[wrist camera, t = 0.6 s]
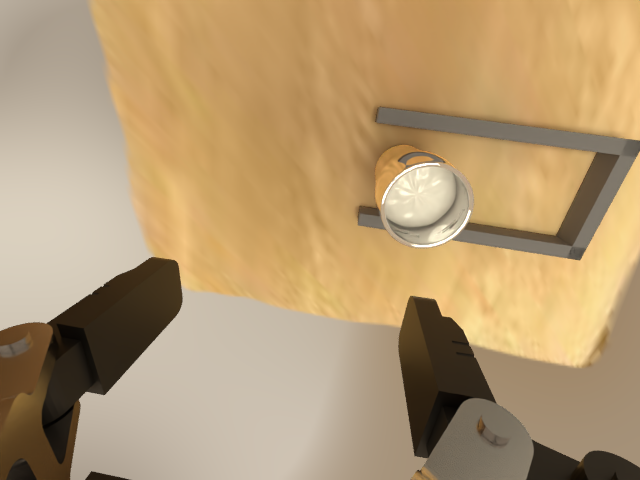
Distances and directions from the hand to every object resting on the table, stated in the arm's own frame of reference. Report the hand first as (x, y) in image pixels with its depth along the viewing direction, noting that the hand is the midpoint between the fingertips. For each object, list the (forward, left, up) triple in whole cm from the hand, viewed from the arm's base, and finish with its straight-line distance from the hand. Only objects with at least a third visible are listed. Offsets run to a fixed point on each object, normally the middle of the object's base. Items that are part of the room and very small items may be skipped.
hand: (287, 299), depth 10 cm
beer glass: (0, +7, -28) cm, 29 cm away
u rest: (0, +15, -28) cm, 32 cm away
